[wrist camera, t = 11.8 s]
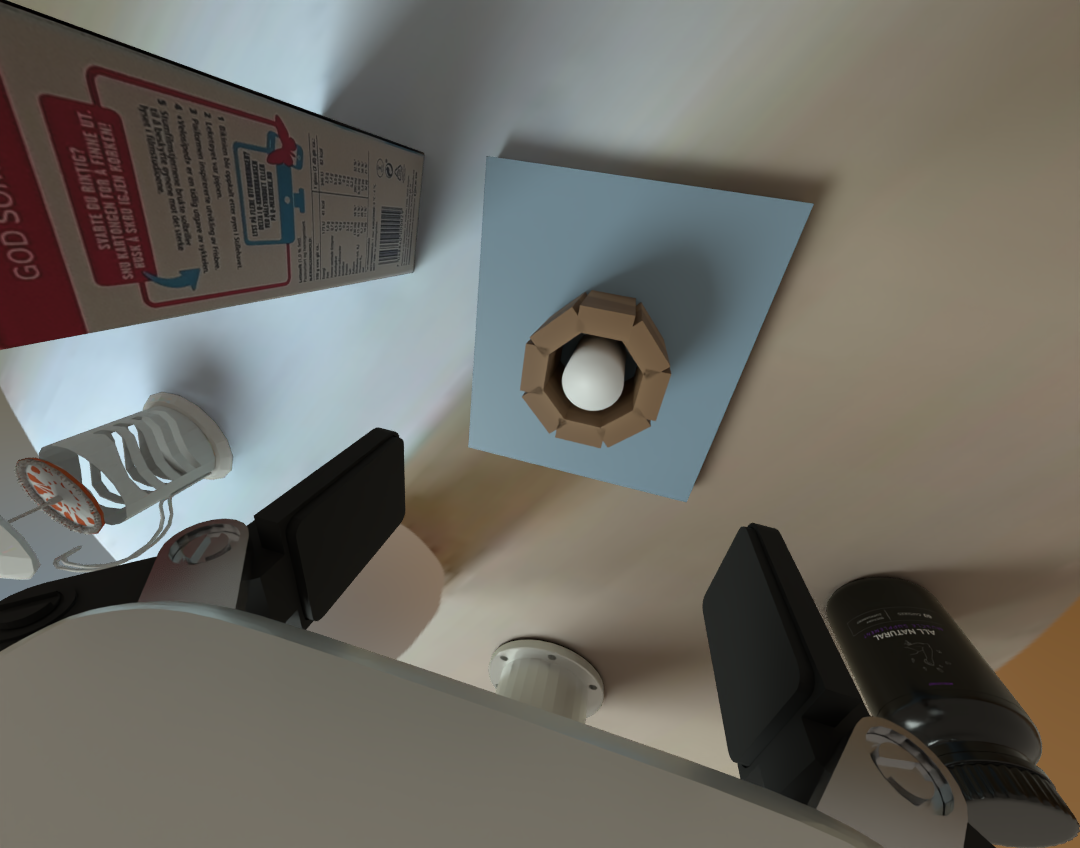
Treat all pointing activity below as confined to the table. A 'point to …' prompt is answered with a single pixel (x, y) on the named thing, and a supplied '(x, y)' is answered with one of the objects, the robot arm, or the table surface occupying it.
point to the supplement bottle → (950, 707)
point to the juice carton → (175, 189)
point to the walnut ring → (639, 392)
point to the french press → (116, 476)
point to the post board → (633, 271)
